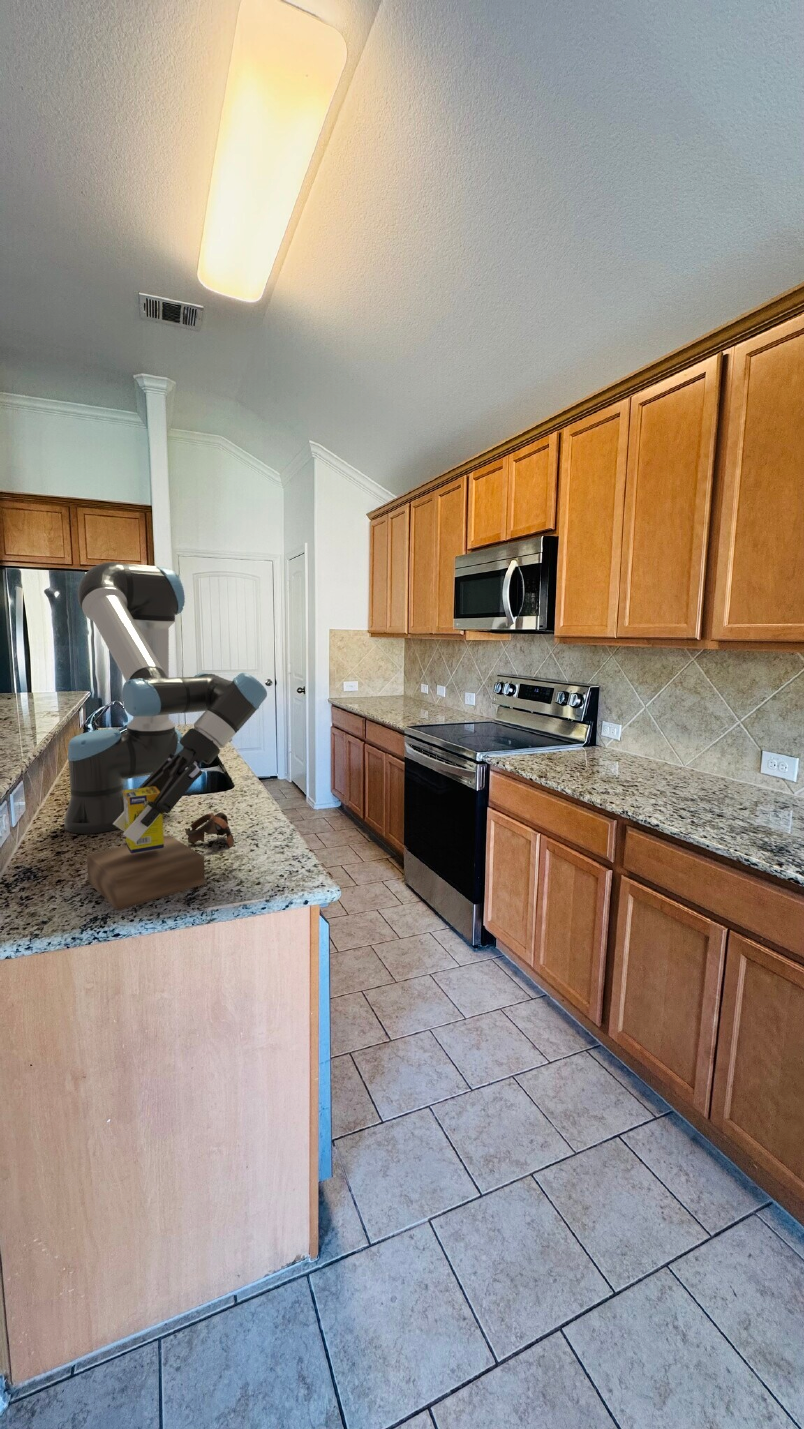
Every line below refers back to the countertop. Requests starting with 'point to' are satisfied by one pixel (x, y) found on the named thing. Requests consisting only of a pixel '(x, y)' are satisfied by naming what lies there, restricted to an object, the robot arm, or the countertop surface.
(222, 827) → the broken clay pot
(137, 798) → the supplement box
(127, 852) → the walnut block
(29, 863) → the countertop surface
